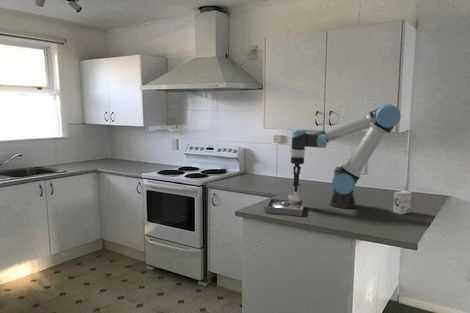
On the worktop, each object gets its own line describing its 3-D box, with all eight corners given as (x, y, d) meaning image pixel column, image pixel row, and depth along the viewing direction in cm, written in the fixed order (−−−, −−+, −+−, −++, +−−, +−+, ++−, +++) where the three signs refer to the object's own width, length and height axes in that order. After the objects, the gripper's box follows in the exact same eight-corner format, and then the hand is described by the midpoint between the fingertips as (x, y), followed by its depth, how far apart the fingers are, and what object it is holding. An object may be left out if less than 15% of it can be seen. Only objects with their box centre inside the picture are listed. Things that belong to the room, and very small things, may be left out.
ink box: (403, 210, 213) (404, 190, 212) (410, 212, 209) (412, 192, 207) (392, 212, 209) (394, 191, 208) (399, 214, 205) (401, 193, 203)
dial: (279, 211, 199) (280, 199, 198) (267, 204, 213) (267, 192, 212) (304, 209, 205) (305, 197, 204) (290, 202, 219) (291, 191, 218)
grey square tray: (304, 206, 217) (304, 200, 216) (301, 216, 197) (302, 209, 197) (269, 203, 221) (270, 197, 221) (264, 212, 202) (264, 206, 201)
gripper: (292, 154, 220) (290, 193, 224) (290, 157, 208) (288, 198, 211) (304, 155, 219) (302, 194, 222) (303, 158, 206) (301, 199, 209)
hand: (295, 196), depth 216 cm, fingers closed
